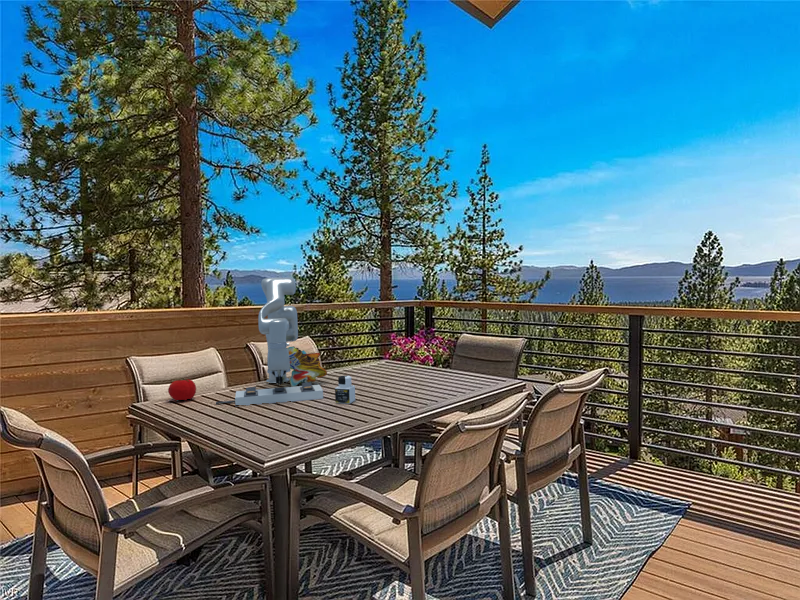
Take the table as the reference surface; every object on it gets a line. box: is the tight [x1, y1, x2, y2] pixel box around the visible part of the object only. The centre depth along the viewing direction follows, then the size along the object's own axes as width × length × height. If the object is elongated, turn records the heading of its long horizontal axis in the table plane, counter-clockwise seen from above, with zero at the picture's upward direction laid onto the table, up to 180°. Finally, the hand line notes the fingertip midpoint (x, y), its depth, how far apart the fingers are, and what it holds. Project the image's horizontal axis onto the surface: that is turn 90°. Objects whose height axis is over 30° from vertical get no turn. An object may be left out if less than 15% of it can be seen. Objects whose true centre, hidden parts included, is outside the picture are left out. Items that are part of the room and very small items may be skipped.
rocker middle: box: [273, 386, 285, 391], centre depth 248 cm, size 7×4×2 cm, turn 15°
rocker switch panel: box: [215, 384, 324, 406], centre depth 249 cm, size 14×49×5 cm, turn 106°
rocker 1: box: [245, 386, 257, 395], centre depth 244 cm, size 7×4×2 cm, turn 16°
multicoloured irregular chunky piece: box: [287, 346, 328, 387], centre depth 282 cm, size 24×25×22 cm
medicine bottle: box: [334, 375, 356, 405], centre depth 242 cm, size 7×7×12 cm
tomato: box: [167, 377, 197, 401], centre depth 254 cm, size 13×12×11 cm
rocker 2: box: [301, 382, 313, 391], centre depth 251 cm, size 7×4×2 cm, turn 16°
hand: (279, 384), depth 246 cm, fingers closed
